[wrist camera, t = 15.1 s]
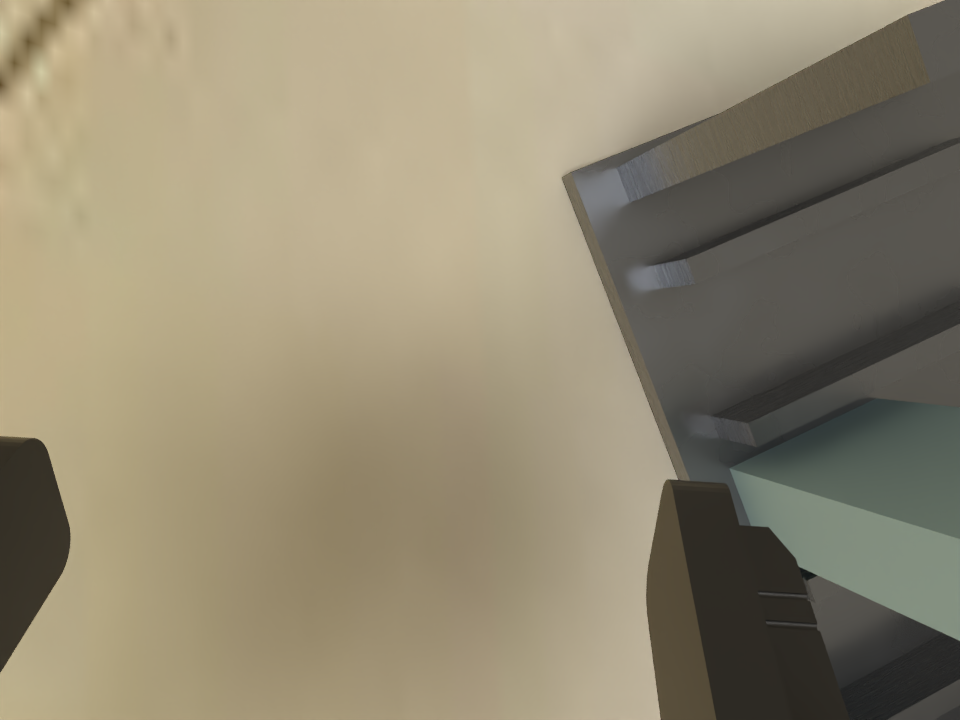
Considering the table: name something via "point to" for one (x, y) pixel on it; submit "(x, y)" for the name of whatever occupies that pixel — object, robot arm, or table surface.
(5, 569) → the robot arm
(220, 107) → the table surface
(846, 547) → the tall pale blue pillar
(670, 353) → the rack
